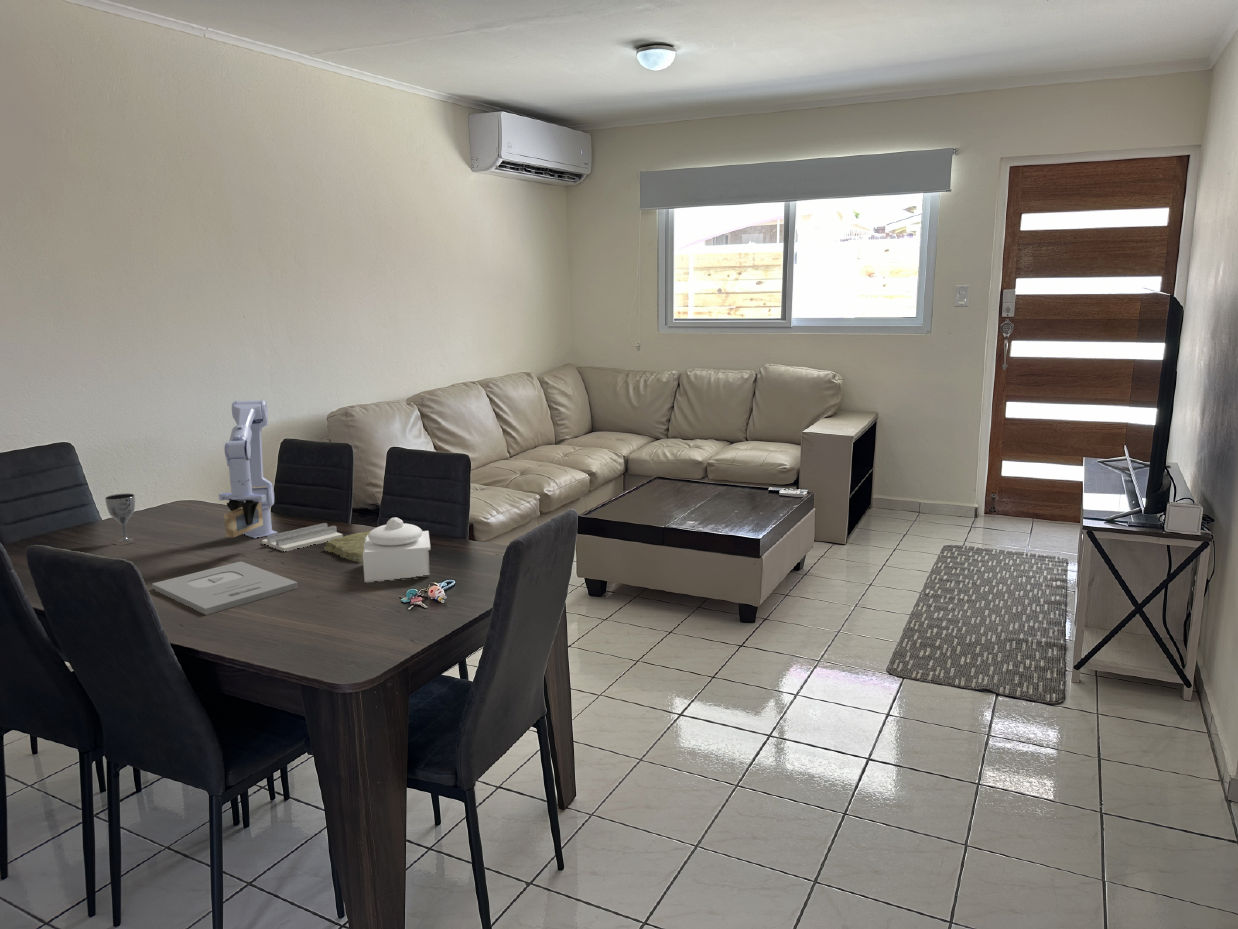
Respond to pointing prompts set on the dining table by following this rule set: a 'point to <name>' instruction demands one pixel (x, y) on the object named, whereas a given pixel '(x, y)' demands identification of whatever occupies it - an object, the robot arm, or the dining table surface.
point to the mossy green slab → (348, 546)
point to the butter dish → (396, 552)
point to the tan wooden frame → (241, 521)
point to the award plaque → (224, 587)
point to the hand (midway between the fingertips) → (244, 524)
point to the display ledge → (302, 537)
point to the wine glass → (121, 509)
